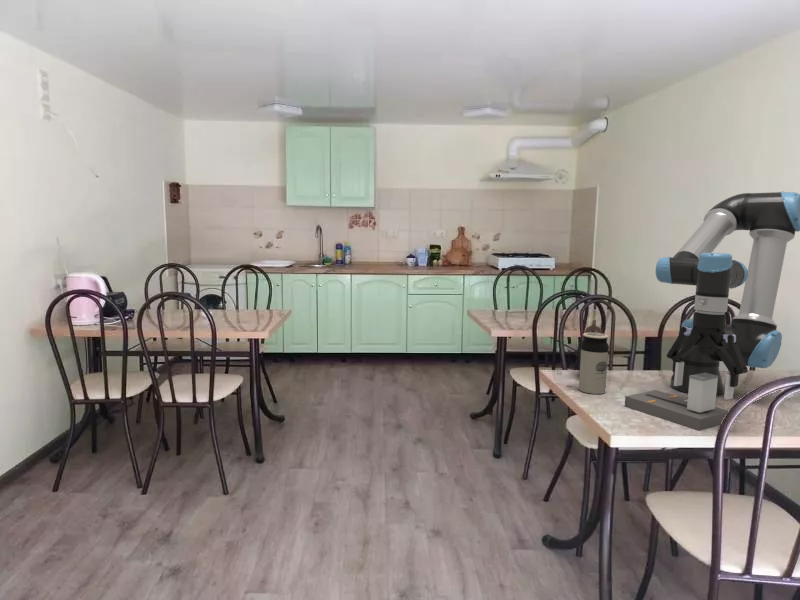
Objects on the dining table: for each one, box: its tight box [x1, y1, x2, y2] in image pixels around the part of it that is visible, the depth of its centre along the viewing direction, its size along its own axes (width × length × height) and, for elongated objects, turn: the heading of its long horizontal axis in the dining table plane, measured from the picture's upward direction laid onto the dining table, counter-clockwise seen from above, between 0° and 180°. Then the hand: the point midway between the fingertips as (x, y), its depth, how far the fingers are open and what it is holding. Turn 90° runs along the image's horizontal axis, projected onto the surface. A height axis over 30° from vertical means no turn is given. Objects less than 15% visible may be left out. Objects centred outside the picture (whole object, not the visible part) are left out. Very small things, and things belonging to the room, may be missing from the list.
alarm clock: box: [579, 319, 603, 362], centre depth 189 cm, size 15×7×20 cm, turn 159°
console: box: [624, 389, 729, 431], centre depth 153 cm, size 22×14×3 cm, turn 31°
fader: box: [687, 373, 718, 413], centre depth 146 cm, size 4×7×9 cm, turn 121°
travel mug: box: [578, 332, 610, 395], centre depth 173 cm, size 8×8×18 cm
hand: (702, 391), depth 146 cm, fingers open, 13 cm apart
